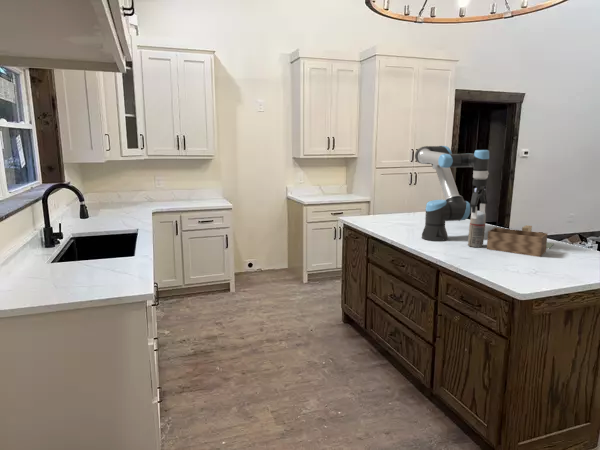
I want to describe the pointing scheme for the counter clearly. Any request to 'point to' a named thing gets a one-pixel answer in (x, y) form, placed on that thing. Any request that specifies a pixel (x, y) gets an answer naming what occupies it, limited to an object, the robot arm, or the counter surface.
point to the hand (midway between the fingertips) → (478, 216)
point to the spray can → (477, 230)
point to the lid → (529, 228)
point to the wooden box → (517, 241)
